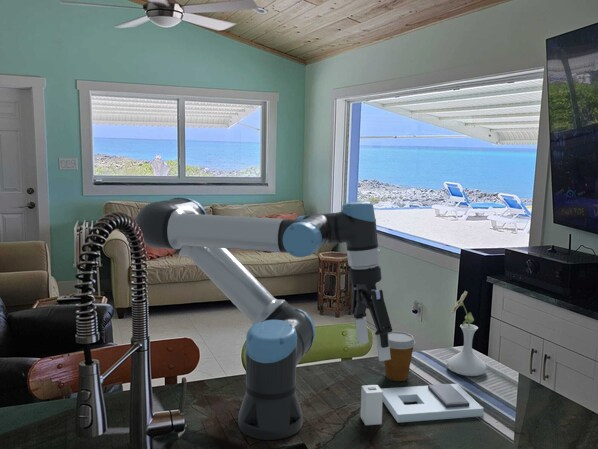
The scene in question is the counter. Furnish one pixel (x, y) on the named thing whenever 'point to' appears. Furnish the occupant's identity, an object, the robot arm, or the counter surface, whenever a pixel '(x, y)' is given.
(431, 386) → the phone
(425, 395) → the outlet board
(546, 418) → the counter surface
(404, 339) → the disposable coffee cup
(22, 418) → the counter surface
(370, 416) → the block
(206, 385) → the counter surface
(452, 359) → the flower in vase
